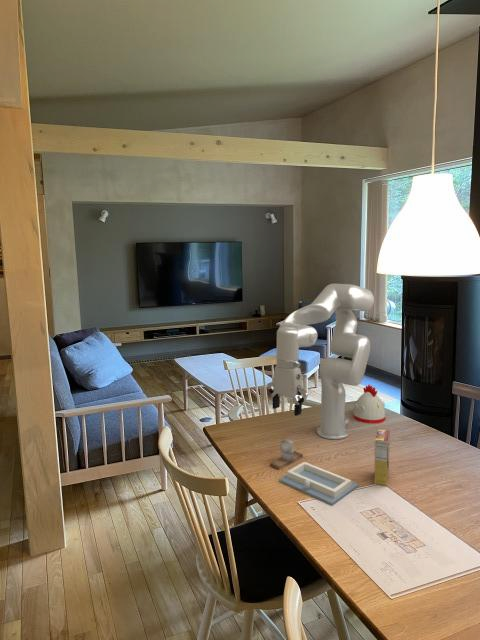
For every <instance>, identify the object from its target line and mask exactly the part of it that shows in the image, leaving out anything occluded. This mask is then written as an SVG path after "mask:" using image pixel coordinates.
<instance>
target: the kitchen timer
mask: <svg viewBox="0 0 480 640" xmlns="http://www.w3.org/2000/svg"><path fill="white" fill-rule="evenodd" d="M362 389H363V392H364V393H362V394H361V395H360V396H359V397H358V399H357V400H356V402H355V403H354V407H353V413H352V417H353V419H354V420H355V421H358V422H360V423H363V424H371V425H372V424H381V423H384V422H385V421H386V410H385V403H384V401H382V399H381V398H380V397H379V395H377V394H378V390H376V387H373V385H371V384H368V385H366V386H365V387H363V388H362Z"/></svg>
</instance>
